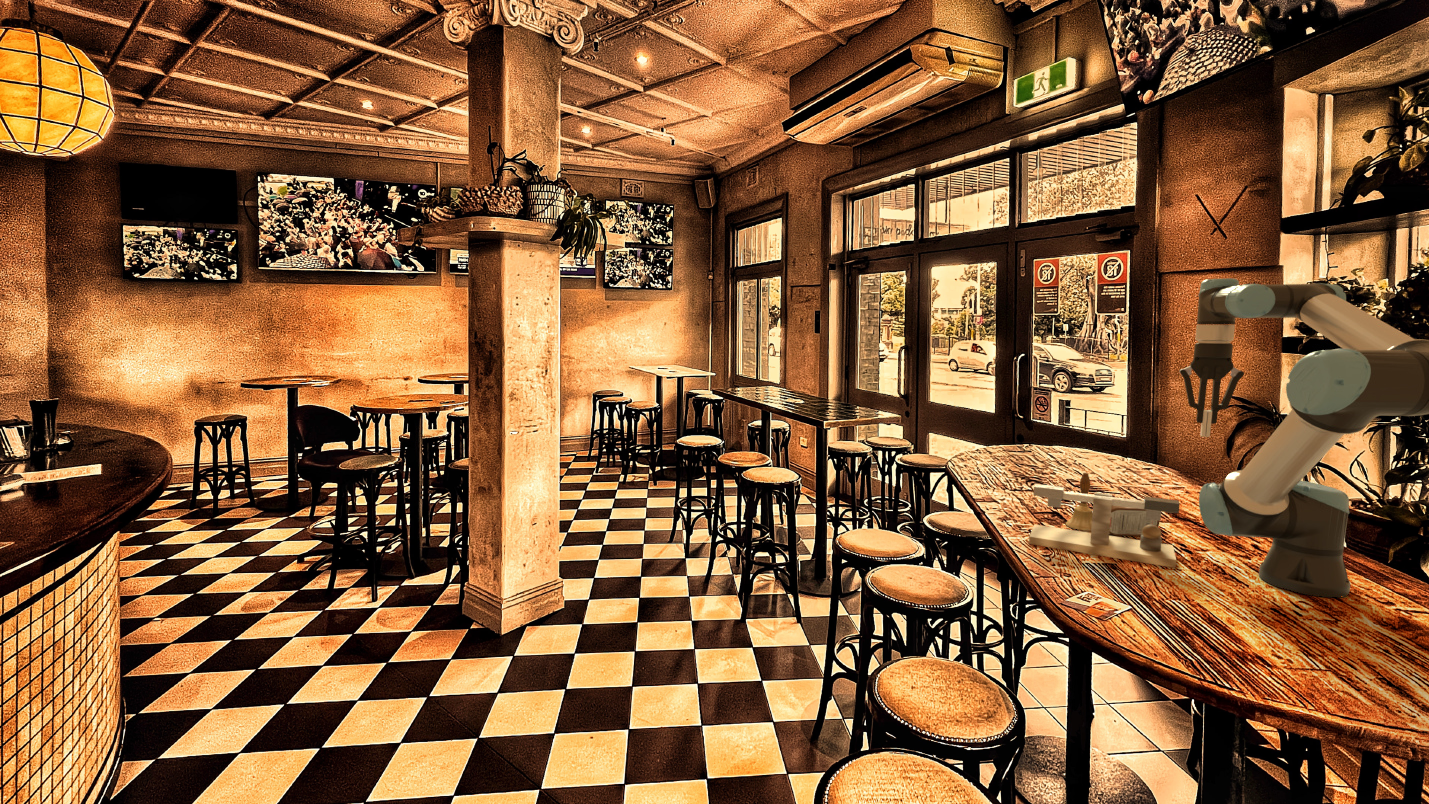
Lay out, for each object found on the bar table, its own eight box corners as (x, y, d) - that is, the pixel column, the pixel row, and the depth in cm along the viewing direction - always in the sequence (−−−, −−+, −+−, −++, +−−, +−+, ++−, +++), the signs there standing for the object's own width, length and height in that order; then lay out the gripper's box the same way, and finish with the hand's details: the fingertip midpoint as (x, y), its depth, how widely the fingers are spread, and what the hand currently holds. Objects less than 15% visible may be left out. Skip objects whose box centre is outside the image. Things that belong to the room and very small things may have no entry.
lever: (1176, 519, 159) (1178, 500, 158) (1177, 523, 156) (1179, 503, 155) (1034, 501, 176) (1035, 483, 175) (1032, 504, 173) (1033, 486, 172)
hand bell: (1103, 532, 180) (1107, 477, 178) (1071, 530, 182) (1075, 475, 180) (1092, 523, 188) (1096, 470, 186) (1061, 521, 190) (1065, 469, 188)
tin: (1153, 534, 178) (1156, 504, 177) (1160, 537, 175) (1162, 508, 174) (1097, 532, 180) (1099, 503, 179) (1102, 536, 177) (1104, 506, 176)
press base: (1172, 552, 164) (1176, 499, 162) (1175, 567, 154) (1180, 511, 152) (1033, 531, 181) (1036, 483, 179) (1028, 543, 171) (1032, 492, 169)
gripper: (1245, 342, 157) (1235, 436, 160) (1179, 341, 164) (1171, 431, 167) (1251, 343, 151) (1241, 440, 154) (1182, 342, 158) (1174, 436, 161)
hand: (1204, 436), depth 160 cm, fingers closed
